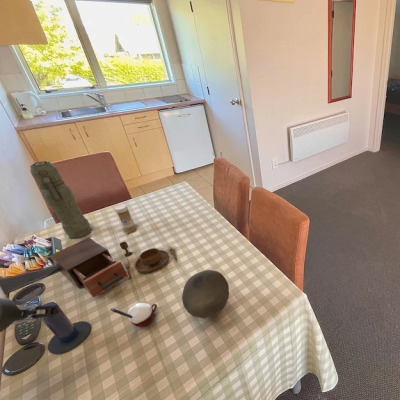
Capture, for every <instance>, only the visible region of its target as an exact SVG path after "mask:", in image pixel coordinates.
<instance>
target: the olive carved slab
mask: <svg viewBox="0 0 400 400" xmlns="http://www.w3.org/2000/svg"><path fill="white" fill-rule="evenodd" d="M29 167H30V174H31V175H32V177H33V179H34V181H35V182H36V183H37V185H38V186H39V188H40V191H41V195H42V197H43V199H44V200H45V202H46V203H47V205H48V206H49V207H51V209H52V210H53V212H54V214H55V215H56V217H57V218H58V220H59V222H60V224H61V227H62V229H63V231H64V232H65V234H66V235H67V236H68V238H69V239H70V240H79V239H81V238H83V237H84V238H85V237H86V236H89V235H90V234H91V233H92V232H93V228H92V227H91V224H90V222H89V220H88V219H87V217H85V216H84V213H82V210H81V209H80V207H79V205H78V204H77V202H76V200H75V195H74V194H73V191H72V189H71V188H70V186H69V185H68V184H66V183H65V181H64V180H63V177H62V176H61V174H60V172H59V170H58V168H57V166H55V165H54V164H53V163H52V162H51V161H47V160H43V161H37V162H35V163H32V164H31V165H30V166H29ZM91 231H92V232H91ZM89 233H90V234H89Z"/></svg>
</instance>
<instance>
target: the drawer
mask: <svg viewBox="0 0 400 400" xmlns="http://www.w3.org/2000/svg"><path fill="white" fill-rule="evenodd" d="M111 257H112V256H111ZM111 257H109V256H108V255H106V254H105V253H103V254H101V255H99V256H97V257H95V258H94V259H92V260H90V261H88V262H86V263H84V264H82V265H80V266H78V267H76V268H75V269H73V270H71V271H72V272H73V274H74V275H75V277H76V278H77V280H78V281H79V282H80V283H81V284H83V285H84V286H83V287H84V288H86V290H87V291H88V293H89V294H90V295H91V297H92V298H96V297H97V296H98V295H100V294H102V293H103V292H105V291H106V290H108V289H110V288H112V287H114V286H115V285H116V284H118V283H120V282H121V281H123V280H124V279H126V278H128V277H129V274H128V272H127V271H126V268H125V266H124V265H123V263H122V261H120V260H118V261H116V260H115V259H114V258H113V257H112V258H111Z"/></svg>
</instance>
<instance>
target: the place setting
mask: <svg viewBox="0 0 400 400" xmlns="http://www.w3.org/2000/svg"><path fill="white" fill-rule="evenodd" d="M119 247H120V248H121V250H122V251H123V250H124V251H125V253H124V257H130V256H132V255H133V252H132V251H129V245H128V243H127V241H122V242H120V243H119ZM168 251H169V252H168ZM168 251H166V250H163V249H158V248H155V247H153V248H148V249H145V250H144V251H142V252H141V253H140V255H139V257H138V259H136V261H135V262H134V268H135V270H136V271H138V273H139V272H140V273H145V274H147V273H151V272H152V273H153V272H155V271H157V270H159V269H161V268H163V267H164V266H165V265H166V264H167V263H168V262H169V259H170V254H172V256H173V259H174V260H175V261H176V262H177V261H178V257H177V256H176V255H175V249H174V248H170V249H169V250H168ZM169 253H170V254H169ZM124 268H125V270H127V275H128V277H129V279H132V275H131V271H130V268H131V265H130V263H129V262H127V263H126V264H124Z"/></svg>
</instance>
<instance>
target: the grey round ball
mask: <svg viewBox="0 0 400 400" xmlns="http://www.w3.org/2000/svg"><path fill="white" fill-rule="evenodd" d="M181 295H182V296H181V302H182V305H183V308H184V309H185V310H186V311H187V313H188V314H189V315H190V316H192V317H195V318H199V319H209V318H212V317H214V316H215V315H217V314H219V313H221V311H222V310H223V309H224V308H225V307H226V305H227V303H228V300H229V298H230V286H229V283H228V280H227V279H226V277H225V276H224V275H223V273H221V272H220V271H217V270H214V269H205V270H202V271H199V272H196V273H195V274H193V275H192V276H190V278H188V279H187V281H186V282H185V284H184V286H183V289H182V294H181Z"/></svg>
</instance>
